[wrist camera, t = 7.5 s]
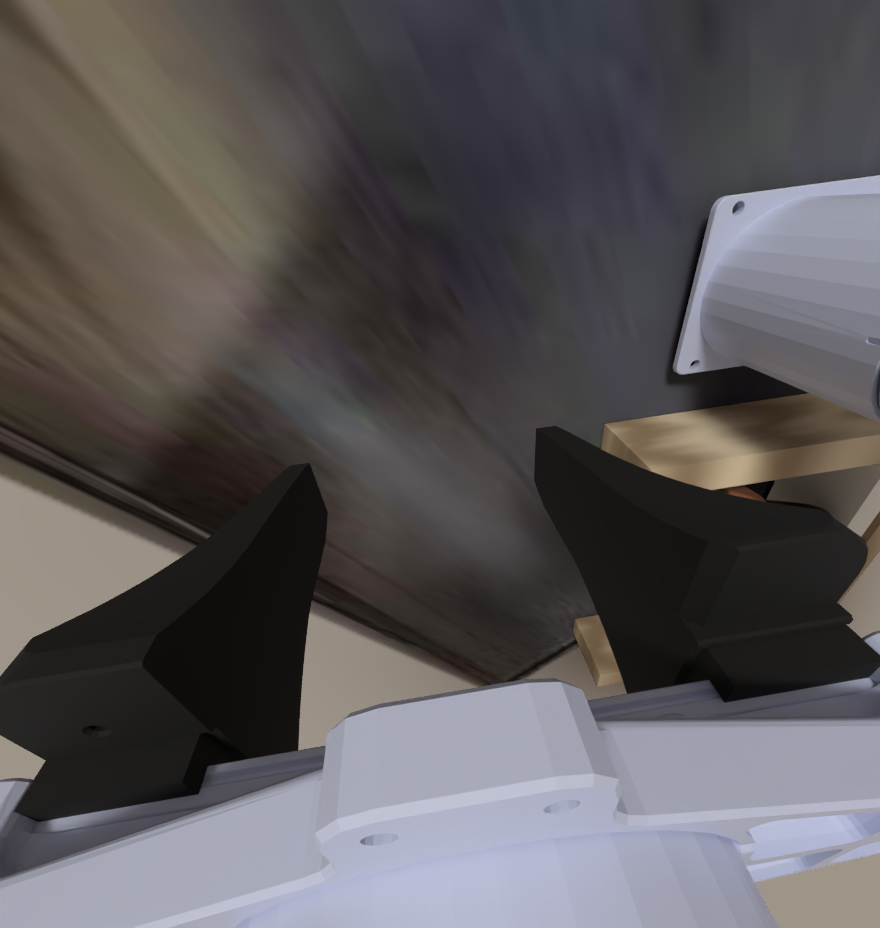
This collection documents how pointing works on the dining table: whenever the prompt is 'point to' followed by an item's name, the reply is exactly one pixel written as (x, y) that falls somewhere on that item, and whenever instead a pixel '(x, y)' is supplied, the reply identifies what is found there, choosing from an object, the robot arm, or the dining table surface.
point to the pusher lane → (737, 465)
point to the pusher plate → (836, 494)
